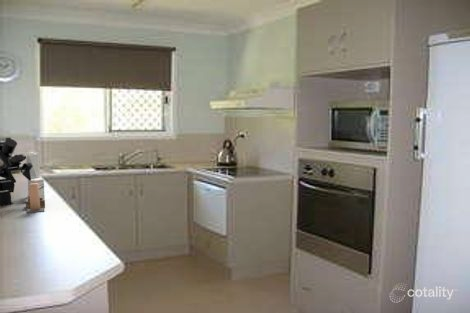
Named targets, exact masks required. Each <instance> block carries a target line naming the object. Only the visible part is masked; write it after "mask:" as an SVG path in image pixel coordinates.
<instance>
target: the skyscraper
mask: <svg viewBox="0 0 470 313" xmlns="http://www.w3.org/2000/svg"><path fill="white" fill-rule="evenodd" d="M25 163H31V164H32V165H33V167H32V168H31V170H30V176H31V179H36V178H39V177H40V170H41V166H40V165H41V164H40V157H39V152H38V151H36V150H33V149H28V150H27V153H26V159H25ZM39 179H40V178H39ZM27 198H29V195H28V194H27Z"/></svg>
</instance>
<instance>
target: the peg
mask: <svg viewBox="0 0 470 313" xmlns="http://www.w3.org/2000/svg"><path fill="white" fill-rule="evenodd" d="M29 195H30V207H31V210H32V211H34V210H40V197H39V185H38V183H32V184H29Z"/></svg>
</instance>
